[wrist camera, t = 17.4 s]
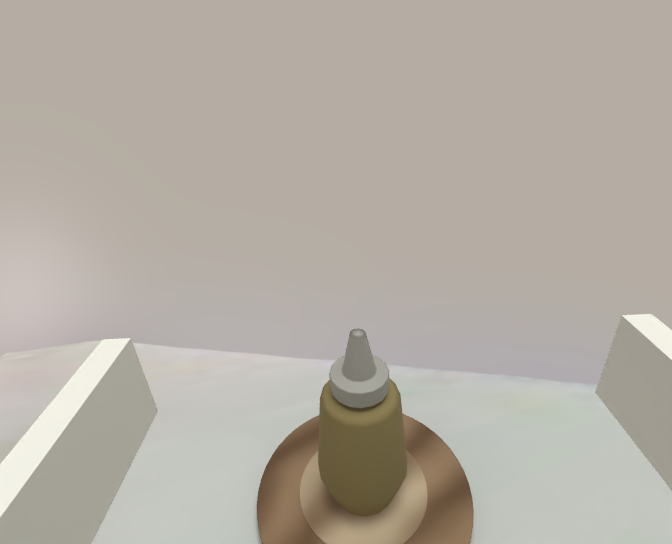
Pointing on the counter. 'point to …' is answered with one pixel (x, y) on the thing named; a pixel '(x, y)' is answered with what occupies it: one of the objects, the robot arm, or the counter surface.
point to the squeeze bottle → (361, 431)
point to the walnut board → (375, 530)
